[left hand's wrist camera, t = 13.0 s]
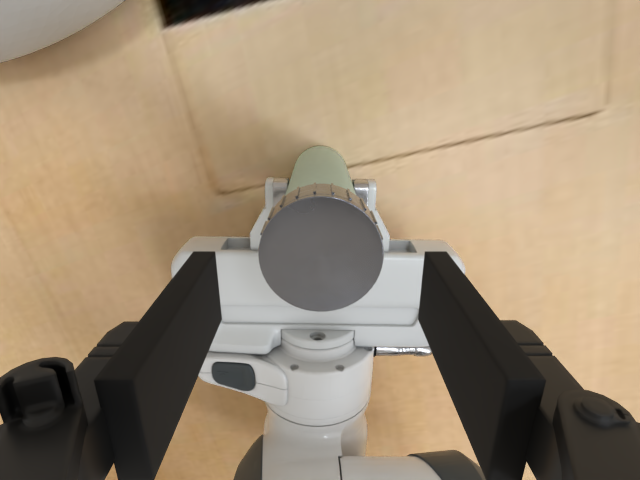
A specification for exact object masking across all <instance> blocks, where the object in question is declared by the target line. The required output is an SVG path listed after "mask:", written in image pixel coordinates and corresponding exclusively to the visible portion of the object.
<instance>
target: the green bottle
mask: <svg viewBox="0 0 640 480" xmlns="http://www.w3.org/2000/svg"><path fill="white" fill-rule="evenodd" d="M315 182H316V184H331V183H333V185H336V186H339V187H342V188H345V189H347V188H348V189H350V192H352V193H354V194H355V195H356V193H355V190H354V187H353V184H352V181H351V178H350V175H349V172H348V169H347V166H346V164H345V161H344V159H343V158H342V156H341V155H340V154H339V153H338V152H337V151H335V150H334V149H332V148H330V147H326V146H314V147H311V148H309V149H307V150H305V151H304V152H303V153H302V154H301V155H300V156H299V157H298V159H297V161H296V163H295V166H294V169H293V172H292V175H291V179H290V182H289V185H288V188H287V191H286V194H285V196H286V195H287V194H288V193H290V192H292V191H293V190H295V189H297V187H298V186H299V187H303V186H306V185H311V184H314V183H315Z"/></svg>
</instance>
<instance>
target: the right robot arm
mask: <svg viewBox="0 0 640 480" xmlns="http://www.w3.org/2000/svg"><path fill="white" fill-rule="evenodd" d="M352 184H353V187H354V190H355V193H356V196H358V197H359V198H360V199H361V198H362V199H363V200H364V203H365V204H366V206H367V207H368V208H369V210H370V211H371V210H372V212H373V214H374V216H375V218H376V221H377V223H378V224H376V225H378V227H379V229H380V232H381V234H382V236H383V240H382V242H383V248H384V260H383V266H382V269H381V272H380V275H379V277H378V279H377V281H376V283H375V284H374V285H373V287H372V288H371V289H370V290H369V292H368V293H367V294H366V295H364V296H363V297H362V298H361V299H359V300H358V301H356V302H355V303H353V304H351V305H349V306H347V307H344V308H342V309H338V310H334V311H326V312H316V311H309V310H304V309H301V308H298V307H295V306H293V305H291V304H289V303H287V302H286V301H284V300H283V299H281V298H280V297H279V296H278V295H276V294H275V292H274V291H273V290H272V289H271V288H270V287H269V285H268V284H267V282H266V281H265V279H264V277H263V274H262V272H261V269H260V265H259V257H258V248H259V243H260V239H261V236H262V235H260V233H261V231H262V228H263V226H264V223H265V221H267V220H268V219H267V218H268V216H269V213H270V211H271V208H272V207H275V206H276V204H277V203H278V202H279V201H280V200H281V199H282V196H283V195H285V194H286V191H287V188H288V185H289V178H274V177H269V178H267V179H266V181H265V206H264V208H263V209H262V211H261V213H260V215H259V217H258V218H257V220H256V222H255V224H254V226H253V228H252V230H251V232H250V237H226V236H194V237H192V238H190V239H189V240H188V241H187V242H186V243H185V244H184V245H183V246H182V247H181V248H180V249H179V251H178V252H177V254H176V255H175V256H174V258H173V261H172V264H171V275H172V278H173V277H174V276H175V275H176V273H177V272H178V271H179V269H180V268H181V267H182V266H183V264H184V263H185V262H186V260H187V259H188V258H189V256H190V255H191V254H192V253H193V251H215V254H216V264H217V274H218V284H219V294H220V304H221V314H222V320H221V323H220V325H219V328H218V330H217V332H216V335H215V337H214V339H213V342H212V344H211V346H210V349H209V351H208V354H207V356H206V358H205V361H204V363H203V365H202V368H201V370H200V372H199V375H198V376H199V378H200V379H201V380H203V381H205V382H207V383H210V384H214V385H217V386H221V387H225V388H228V389H232V390H235V391H238V392H242V393H245V394H248V395H250V396H253V397H256V398H258V399H260V400H263V401H265V404H266V406H267V410H268V412H267V415H266V418H265V423H264V435H261V436H260V437H259V438H258V439H257V440H256V441H255V442H254V444H253V445H252V446H251V448H250V449H249V450H248V452H247V453H246V455H245V456H244V458H243V459H242V461H241V462H240V464H239V466H238V468H237V471H236V474H235V477H234V480H486V479H485V476H484V474H483V472H482V469H481V467H479V466H478V465H477V464H476V463H474V462H473V461H472V460H470V459H469V458H468V457H466V456H465V455H464V454H462V453H461V452H459V451H456V450H447V451H437V452H427V453H417V454H410V455H408V456H365V454H366V446H367V436H368V428H367V421H366V417H365V414H364V412H365V410H366V408H367V406H368V404H369V400H370V395H371V384H372V371H373V357H375V356H400V355H414V356H429V355H431V354H432V351H431V349H430V346H429V344H428V342H427V339H426V337H425V335H424V332H423V330H422V328H421V325H420V323H419V320H418V314H419V304H420V294H421V284H422V274H423V264H424V254H425V251H447V253H448V254H449V255H450V256H451V258H452V259H453V260H454V262H455V263H456V264H457V266H458V267H459V268H460V269H461V271H462V272H463V273H464V275H465V265H464V263H463V261H462V259H461V258H460V256H459V255H458V253H457V252H456V251H455V250H454V249H453V248H452V247H451V246H450V245H449V244H448V243H447V242H446V241H443V240H413V239H390V235H389V233H388V231H387V229H386V226H385V224H384V223H383V221H382V219H381V217H380V215H379V213H378V211H377V209H376V207H375V204H376V182H375V180H374V179H353V180H352Z"/></svg>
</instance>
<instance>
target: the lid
mask: <svg viewBox="0 0 640 480" xmlns="http://www.w3.org/2000/svg"><path fill="white" fill-rule="evenodd" d="M267 219H268V220H267V221H265V223H264V226H263V228H262V231H261V233H260V235H262V236H261V239H260V243H259V248H258V257H259V265H260V269H261V272H262V274H263V277H264V279H265V281H266V282H267V284H268V285H269V287H270V288H271V289H272V290H273V291H274V292H275V294H276V295H278V296H279V297H280V298H281V299H283V300H284V301H286V302H287V303H289V304H291V305H293V306H295V307H298V308H301V309H304V310H309V311H316V312H326V311H334V310H338V309H342V308H344V307H347V306H349V305H351V304H353V303H355V302H356V301H358V300H359V299H361V298H362V297H363V296H364V295H366V294H367V293H368V292H369V290H370V289H371V288H372V287H373V285H374V284H375V283H376V281H377V279H378V277H379V275H380V272H381V269H382V266H383V260H384V248H383V242H382V240H383V236H382V234H381V232H380V229H379V227H378V225H376V224H378V223H377V221H376V218H375V216H374V214H373V212H372V210H371V211H370V210H369V208H368V207H367V206H366V204H365V203H364V200H363V199H362V198H361V199H360V198H359V197H358V196H356V195H355V194H354V193H352V192H350V189H348V188H347V189H345V188H342V187H339V186H336V185H333V183H331V184H316V182H315V183H314V184H311V185H306V186H303V187H299V186H298V187H297V189H295V190H293V191H292V192H290V193H288V194H287V195H286V196H285V195H283V196H282V199H281V200H280V201H279V202H278V203H277V204H276V206H275V207H272V208H271V211H270V213H269V216H268V218H267Z"/></svg>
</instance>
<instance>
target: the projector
mask: <svg viewBox="0 0 640 480" xmlns="http://www.w3.org/2000/svg"><path fill="white" fill-rule="evenodd" d="M124 1H125V0H0V63H1V62H5V61H9V60H12V59H15V58H18V57H21V56H24V55H27V54H30V53H33V52H35V51H38V50H40V49H43V48H45V47H48V46H50V45H52V44H54V43H56V42H58V41H61V40H63V39H65V38H67V37H69V36H70V35H72V34H74V33H76V32H78V31H80V30H82V29H83V28H85V27H87V26H88V25H90V24H92V23H93V22H95V21H96V20H98V19H99V18H101V17H103V16H104V15H106V14H107V13H108V12H110V11H111V10H113V9H114V8H116V7H117V6H118V5H120V4H121V3H122V2H124Z"/></svg>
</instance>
